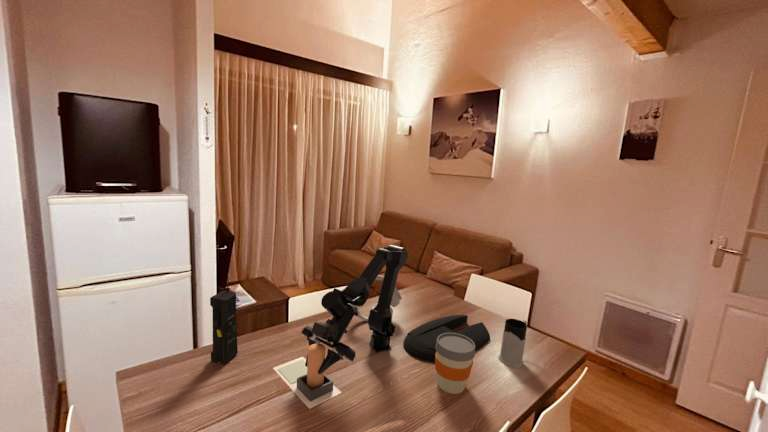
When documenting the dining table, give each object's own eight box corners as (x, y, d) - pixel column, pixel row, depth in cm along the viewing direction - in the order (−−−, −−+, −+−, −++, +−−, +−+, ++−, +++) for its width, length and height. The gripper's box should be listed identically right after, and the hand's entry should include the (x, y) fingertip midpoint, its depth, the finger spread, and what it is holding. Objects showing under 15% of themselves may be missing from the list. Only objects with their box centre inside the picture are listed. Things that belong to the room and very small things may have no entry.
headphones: (386, 333, 149) (344, 314, 141) (380, 323, 157) (340, 305, 149) (410, 292, 149) (370, 271, 141) (403, 285, 157) (364, 264, 149)
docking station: (388, 341, 135) (389, 329, 134) (451, 316, 162) (453, 306, 161) (436, 373, 117) (437, 360, 116) (498, 339, 144) (500, 328, 143)
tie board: (341, 395, 102) (342, 383, 101) (309, 412, 95) (309, 399, 94) (302, 359, 119) (303, 348, 118) (272, 370, 111) (272, 359, 110)
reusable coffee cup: (443, 367, 120) (448, 328, 118) (476, 384, 112) (482, 342, 110) (424, 384, 110) (428, 341, 108) (459, 403, 103) (465, 358, 100)
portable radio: (224, 366, 111) (224, 294, 107) (208, 363, 112) (207, 291, 108) (239, 353, 119) (239, 285, 115) (223, 350, 120) (223, 283, 116)
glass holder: (494, 359, 128) (499, 322, 125) (510, 346, 138) (516, 312, 135) (516, 370, 122) (523, 331, 119) (532, 356, 132) (538, 320, 129)
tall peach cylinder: (320, 380, 106) (322, 342, 104) (325, 390, 102) (327, 351, 99) (304, 384, 104) (306, 345, 101) (308, 395, 99) (310, 354, 97)
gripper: (306, 301, 107) (276, 348, 100) (351, 321, 97) (321, 375, 90) (323, 316, 115) (296, 360, 108) (366, 336, 104) (340, 386, 97)
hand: (312, 370), depth 100 cm, fingers closed on tall peach cylinder, 5 cm apart
